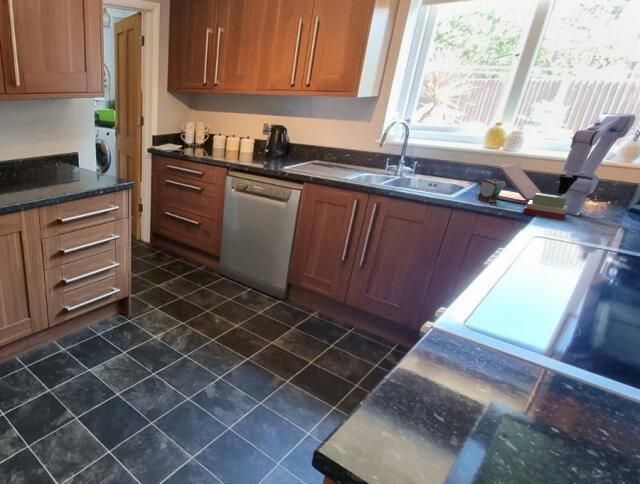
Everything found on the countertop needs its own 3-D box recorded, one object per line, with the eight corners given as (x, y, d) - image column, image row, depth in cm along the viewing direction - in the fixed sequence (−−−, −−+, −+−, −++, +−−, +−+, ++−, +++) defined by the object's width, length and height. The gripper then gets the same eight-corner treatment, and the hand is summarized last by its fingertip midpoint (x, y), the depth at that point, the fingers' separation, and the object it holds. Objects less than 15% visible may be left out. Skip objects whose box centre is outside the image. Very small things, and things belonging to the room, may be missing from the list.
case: (525, 205, 201) (538, 171, 195) (474, 195, 217) (485, 163, 211) (542, 201, 210) (555, 168, 204) (492, 191, 227) (503, 161, 221)
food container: (504, 205, 199) (512, 184, 195) (490, 203, 200) (497, 183, 196) (489, 198, 210) (496, 178, 207) (475, 197, 211) (482, 177, 208)
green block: (532, 201, 188) (536, 192, 187) (563, 206, 182) (567, 197, 180) (531, 203, 185) (535, 194, 184) (562, 208, 178) (566, 198, 177)
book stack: (525, 209, 193) (528, 199, 191) (564, 215, 184) (568, 206, 183) (522, 213, 186) (526, 203, 184) (563, 220, 177) (567, 210, 175)
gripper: (589, 162, 167) (574, 196, 172) (589, 160, 176) (575, 192, 181) (565, 160, 171) (551, 193, 176) (566, 157, 181) (553, 189, 186)
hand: (562, 192), depth 179 cm, fingers open, 7 cm apart
